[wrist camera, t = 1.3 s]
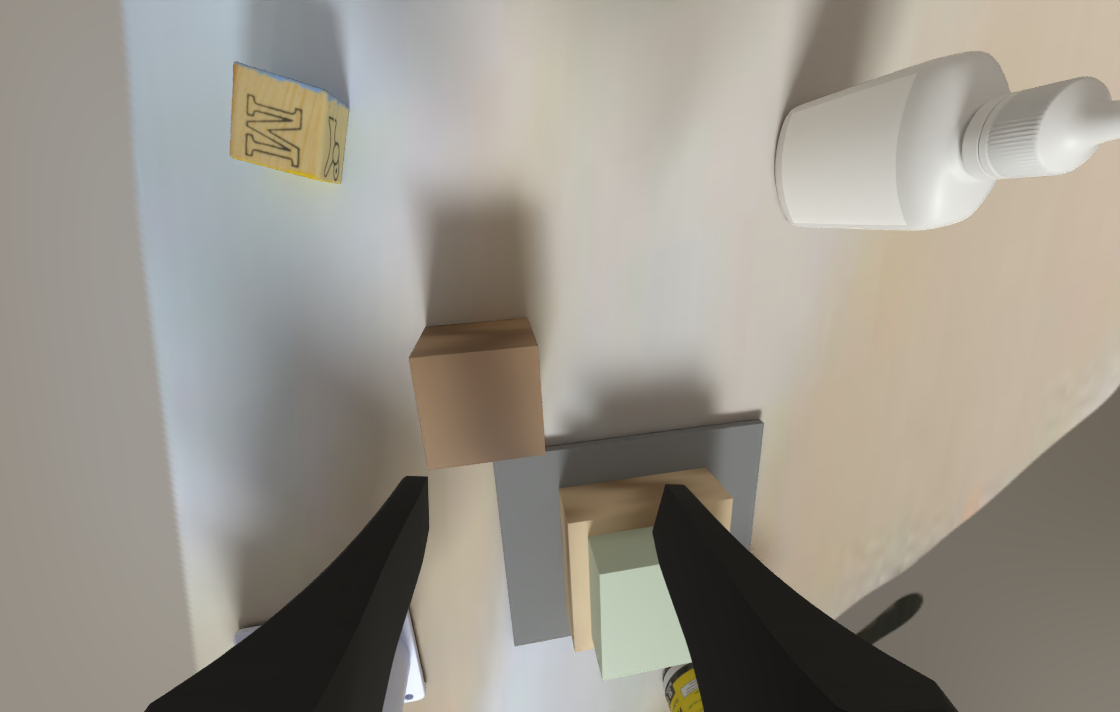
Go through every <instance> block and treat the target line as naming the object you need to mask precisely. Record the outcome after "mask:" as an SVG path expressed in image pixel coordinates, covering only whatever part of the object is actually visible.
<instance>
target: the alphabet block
mask: <svg viewBox="0 0 1120 712" xmlns="http://www.w3.org/2000/svg"><path fill="white" fill-rule="evenodd" d="M348 114H349V108H348V107H347V106H346V105H345V104H344V103H342V102H341V101H340V100H339V99H337V98H336V97H335V96H333V95H332V94H331V93H329V92H328V91H326V90H324V89H321V88H318V87H315V86H312V85H309V84H305V83H302V82H299V81H296V80H293V79H289V78H286V77H283V76H279V75H276V74H273V73H270V72H267V71H264V70H261V69H257V68H254V67H250V66H248V65H245V64H242V63H239V62H234V65H233V97H232V116H231V140H230V156H231V157H232V158H234V159H238V160H242V161H246V162H250V163H254V164H257V165H261V166H265V167H269V168H273V169H277V170H281V171H284V172H288V173H292V174H296V175H300V176H304V177H307V178H311V179H314V180H319V181H324V182H331V183H337V184H340V183H341V178H342V169H343V160H344V150H345V140H346V132H347V122H348Z"/></svg>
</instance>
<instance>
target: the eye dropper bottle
mask: <svg viewBox="0 0 1120 712" xmlns="http://www.w3.org/2000/svg"><path fill="white" fill-rule="evenodd" d="M1118 138H1120V101H1112V99H1111V95H1110V92H1109V90H1108V88H1107V87H1106V86H1105V84H1103V83H1102V82H1101V81H1100V80H1098V79H1096V78H1093V77H1088V76H1087V77H1078V78H1074V79H1070V80H1065V81H1061V82H1057V83H1052V84H1048V85H1044V86H1039V87H1035V88H1031V89H1026V90H1022V91H1018V92H1013V93H1011V92H1010V89H1009V86H1008V83H1007V80H1006V78H1005V76H1004V73H1003V71H1002V69H1001V67H1000V65H999V64H998V62H997V61H996V60H995V59H994V58H993V56H991V55H990V54H988V53H986V52H982V51H970V52H963V53H958V54H954V55H949V56H945V57H941V58H937V59H933V60H930V61H927V62H924V63H921V64H918V65H915V66H911V67H908V68H905V69H902V70H899V71H896V72H893V73H891V74H888V75H885V76H882V77H879V78H876V79H873V80H870V81H867V82H864V83H861V84H859V85H856V86H853V87H850V88H847V89H844V90H841V91H838V92H836V93H833V94H830V95H827V96H824V97H821V98H818V99H815V100H813V101H810V102H807V103H804V104H801V105H799V106H797V107H795V108H794V109H792V110H791V111H790V112H789V114H788V115H787V117H786V118H785V120H784V123H783V126H782V129H781V132H780V136H779V140H778V145H777V151H776V160H775V180H776V188H777V193H778V198H779V201H780V204H781V207H782V210H783V212H784V215H785V217H786V218H787V220H788V221H789V222H790V223H791V224H792V225H794V226H800V227H820V228H846V229H875V230H928V229H934V228H938V227H942V226H947V225H951V224H954V223H957V222H960V221H962V220H964V219H966V218H967V217H969V216H971V215H972V214H973V213H974V212H975V211H976V210H977V209H978V207H979V206H980V205H981V204H982V203H983V201H984V200H985V198H986V197H987V195H988V194H989V192H990V191H991V189H992V187H993V186H994V184H995V182H996V180H997V179H1009V178H1023V177H1037V176H1052V175H1061V174H1065V173H1068V172H1070V171H1072V170H1074V169H1076V168H1077V167H1079V166H1080V165H1081V164H1083V163H1084V162H1085V161H1086V160H1088V159H1089V158H1090V157H1091V156H1092V154H1093V153H1094V152H1095V151H1096V150H1097V148H1098V147H1099V145H1100V144H1101V143H1103V142H1106V141H1110V140H1114V139H1118Z"/></svg>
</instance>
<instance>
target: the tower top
mask: <svg viewBox="0 0 1120 712" xmlns="http://www.w3.org/2000/svg"><path fill="white" fill-rule="evenodd" d="M653 527H654V526H652V527H645V528H639V529H633V530H627V531H620V532H614V533H608V534H602V535H595V536H589V537H588V557H589V583H590V610H591V636H592V640H593V644H594V648H595V652H596V656H597V660H598V664H599V668H600V672H601V676H602V680H603V681H604V680H609V679H614V678H619V677H623V676H628V675H633V674H638V673H643V672H648V671H652V670H657V669H662V668H667V667H672V666H676V665H681V664H686V663H691V662H692V660H691V657H690V653H689V650H688V647H687V644H686V640H685V637H684V635H683V632H682V629H681V626H680V623H679V620H678V617H677V615H676V612H675V609H674V606H673V603H672V600H671V598H670V595H669V592H668V589H667V586H666V583H665V580H664V577H663V574H662V571H661V568H660V565H659V561H658V557H657V553H656V548H655V543H654V538H653V534H652V531H653Z"/></svg>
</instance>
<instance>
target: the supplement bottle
mask: <svg viewBox="0 0 1120 712" xmlns="http://www.w3.org/2000/svg"><path fill="white" fill-rule="evenodd" d="M663 689H664V693H665V697H666V700H667V703H668V705H669V708H670V711H671V712H704V709H703V705H702V700H701V696H700V692H699V688H698V684H697V680H696V676H695V672H694V668H693V664H692V662H691V663H686V664H681V665H676V666H672V667H670V668H669V670H668V671H667V673H666V675H665V677H664V681H663Z"/></svg>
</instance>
